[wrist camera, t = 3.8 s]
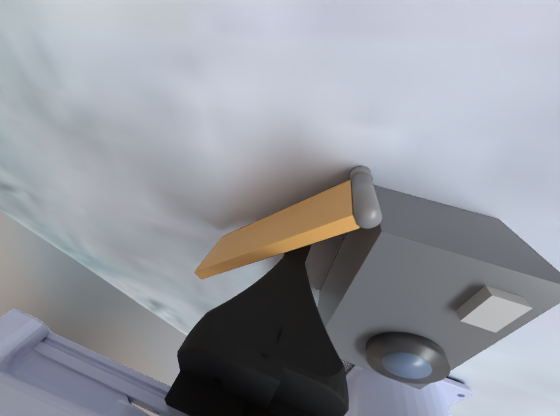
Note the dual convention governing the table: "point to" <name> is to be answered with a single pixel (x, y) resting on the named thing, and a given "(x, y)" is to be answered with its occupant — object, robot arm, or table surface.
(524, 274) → the camera body
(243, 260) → the wooden matchstick
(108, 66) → the table surface
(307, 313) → the robot arm
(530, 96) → the table surface
